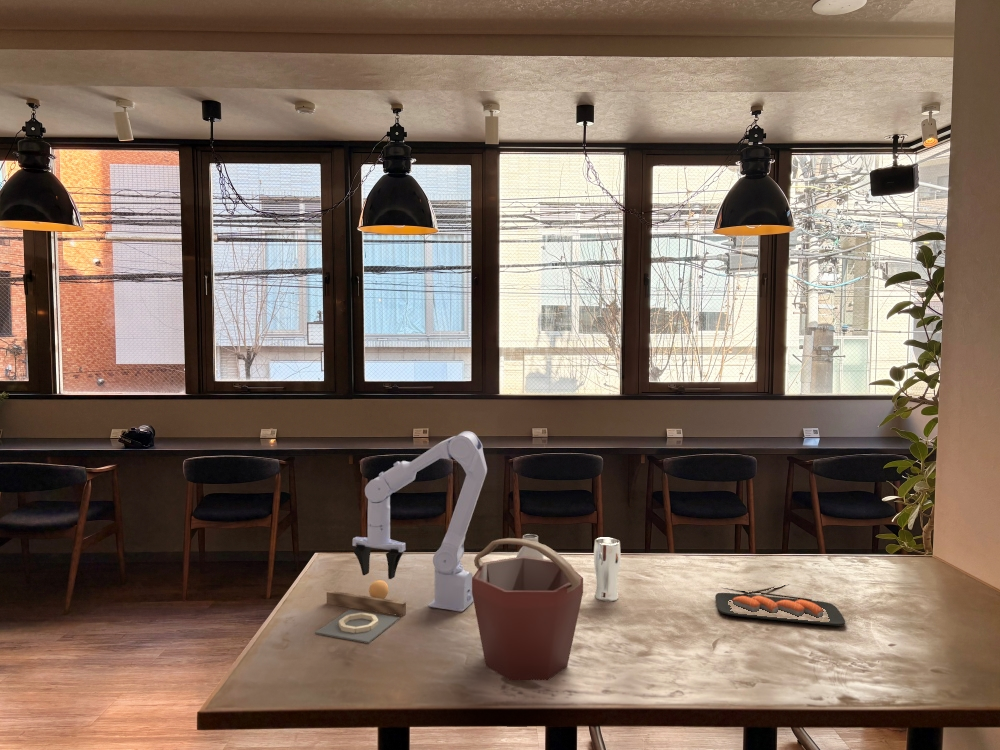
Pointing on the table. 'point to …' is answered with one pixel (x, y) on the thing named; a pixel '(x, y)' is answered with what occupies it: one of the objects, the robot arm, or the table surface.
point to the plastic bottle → (529, 551)
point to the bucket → (526, 611)
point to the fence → (366, 603)
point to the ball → (378, 589)
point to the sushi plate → (779, 606)
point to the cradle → (357, 626)
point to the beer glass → (606, 568)
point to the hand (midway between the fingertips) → (378, 576)
